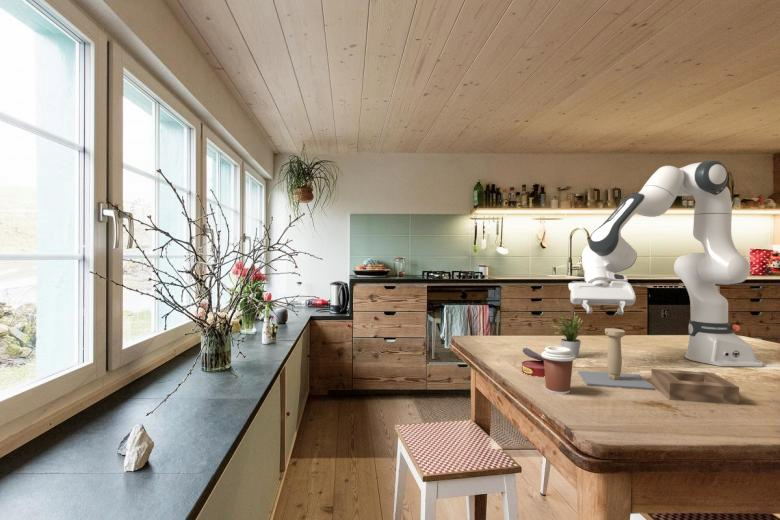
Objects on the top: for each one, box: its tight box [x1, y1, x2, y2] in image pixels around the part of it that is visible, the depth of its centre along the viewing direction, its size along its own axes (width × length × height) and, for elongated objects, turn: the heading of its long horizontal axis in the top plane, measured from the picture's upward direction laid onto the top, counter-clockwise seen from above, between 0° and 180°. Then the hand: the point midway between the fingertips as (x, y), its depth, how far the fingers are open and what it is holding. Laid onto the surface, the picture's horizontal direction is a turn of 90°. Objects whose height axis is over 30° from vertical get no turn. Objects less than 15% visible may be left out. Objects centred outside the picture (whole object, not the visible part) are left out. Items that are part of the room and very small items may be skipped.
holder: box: [651, 368, 740, 405], centre depth 122 cm, size 16×14×4 cm
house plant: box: [550, 314, 589, 359], centre depth 166 cm, size 14×14×16 cm
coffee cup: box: [541, 345, 576, 395], centre depth 124 cm, size 9×9×12 cm
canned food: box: [521, 347, 545, 378], centre depth 143 cm, size 11×10×10 cm
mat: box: [578, 370, 656, 391], centre depth 134 cm, size 18×14×1 cm
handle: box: [604, 327, 626, 380], centre depth 134 cm, size 5×6×15 cm
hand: (605, 313), depth 145 cm, fingers open, 8 cm apart
